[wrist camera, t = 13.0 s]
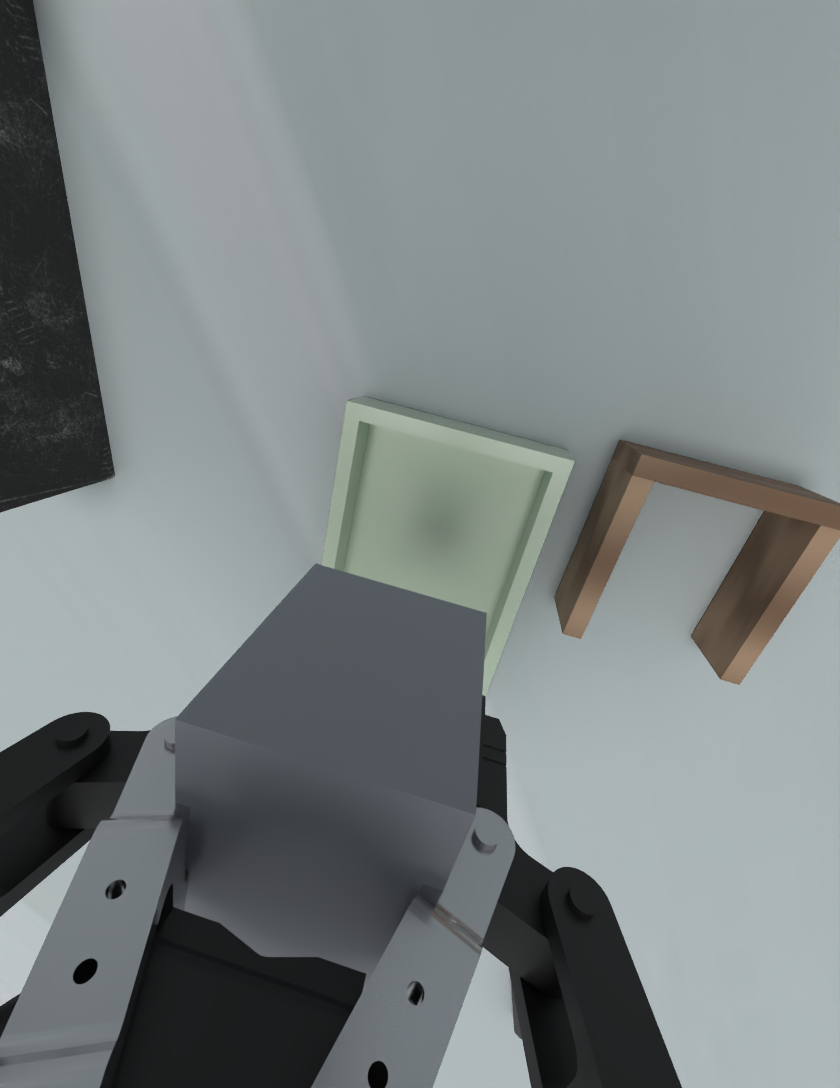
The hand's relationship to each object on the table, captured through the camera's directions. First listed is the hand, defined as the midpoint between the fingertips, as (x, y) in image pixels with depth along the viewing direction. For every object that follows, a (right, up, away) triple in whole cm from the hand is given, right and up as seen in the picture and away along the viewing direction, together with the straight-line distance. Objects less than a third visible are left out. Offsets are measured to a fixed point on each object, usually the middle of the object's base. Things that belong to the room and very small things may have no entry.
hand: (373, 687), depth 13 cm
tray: (+2, +3, +15) cm, 15 cm away
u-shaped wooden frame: (+15, +4, +12) cm, 20 cm away
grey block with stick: (-1, -2, +2) cm, 3 cm away
